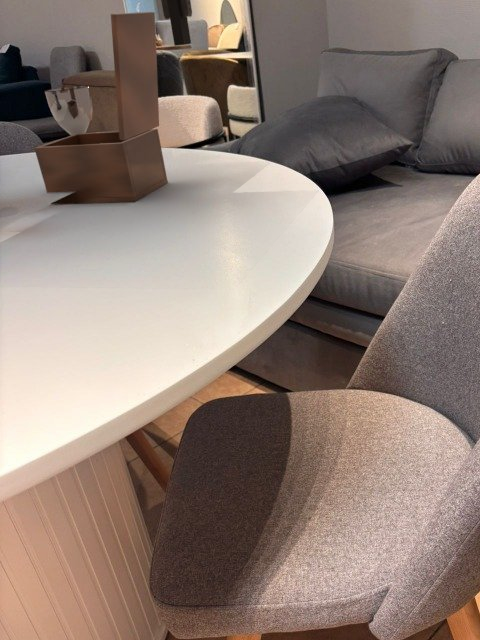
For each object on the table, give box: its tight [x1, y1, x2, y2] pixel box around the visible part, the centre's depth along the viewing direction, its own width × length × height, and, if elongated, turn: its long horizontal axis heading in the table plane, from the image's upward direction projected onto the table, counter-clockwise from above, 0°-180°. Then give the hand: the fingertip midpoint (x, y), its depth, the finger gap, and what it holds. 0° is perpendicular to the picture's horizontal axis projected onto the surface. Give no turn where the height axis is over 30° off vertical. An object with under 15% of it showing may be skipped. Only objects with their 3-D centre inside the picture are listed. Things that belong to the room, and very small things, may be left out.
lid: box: [110, 11, 160, 140], centre depth 97 cm, size 16×13×1 cm
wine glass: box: [44, 85, 93, 136], centre depth 123 cm, size 8×8×15 cm
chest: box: [33, 128, 169, 205], centre depth 106 cm, size 16×13×9 cm
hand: (182, 44), depth 93 cm, fingers closed
